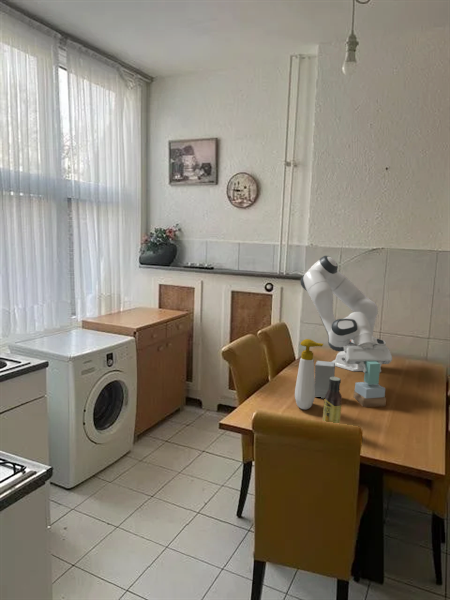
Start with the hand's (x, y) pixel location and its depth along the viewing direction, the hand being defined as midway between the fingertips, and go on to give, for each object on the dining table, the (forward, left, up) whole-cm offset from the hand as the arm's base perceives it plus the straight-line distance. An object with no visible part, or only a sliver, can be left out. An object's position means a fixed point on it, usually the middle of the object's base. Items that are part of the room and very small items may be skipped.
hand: (372, 372), depth 188 cm
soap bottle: (-18, -24, -14) cm, 33 cm away
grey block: (-1, 0, -10) cm, 10 cm away
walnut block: (-1, +1, -14) cm, 14 cm away
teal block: (0, 0, -5) cm, 5 cm away
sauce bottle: (-1, -37, -14) cm, 39 cm away
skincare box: (-18, -8, -14) cm, 24 cm away
